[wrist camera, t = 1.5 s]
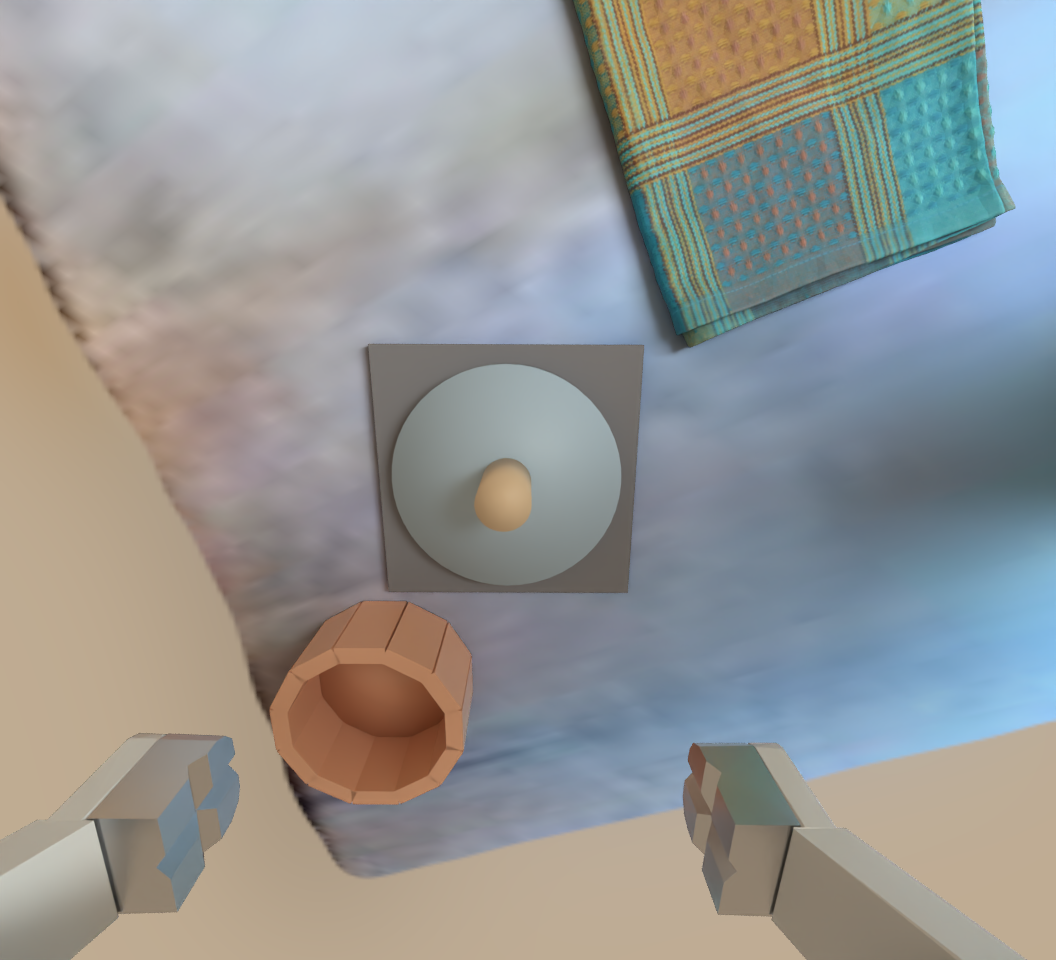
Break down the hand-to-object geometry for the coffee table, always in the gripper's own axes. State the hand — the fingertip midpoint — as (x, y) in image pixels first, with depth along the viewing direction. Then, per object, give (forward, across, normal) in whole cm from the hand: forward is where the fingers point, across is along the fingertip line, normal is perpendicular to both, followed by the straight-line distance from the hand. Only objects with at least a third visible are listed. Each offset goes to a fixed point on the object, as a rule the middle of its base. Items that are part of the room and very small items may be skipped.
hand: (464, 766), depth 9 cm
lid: (+21, 0, 0) cm, 21 cm away
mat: (+21, 0, 0) cm, 21 cm away
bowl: (+21, +7, +14) cm, 27 cm away
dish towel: (+22, -13, -21) cm, 33 cm away
